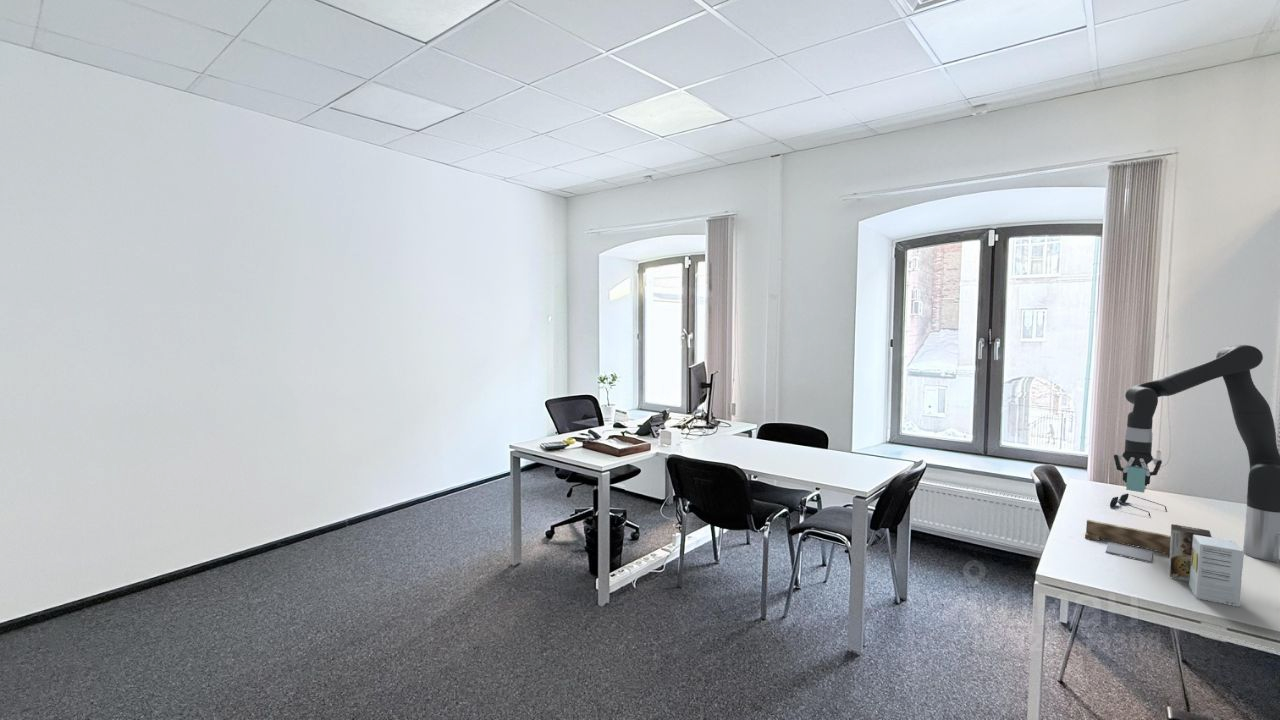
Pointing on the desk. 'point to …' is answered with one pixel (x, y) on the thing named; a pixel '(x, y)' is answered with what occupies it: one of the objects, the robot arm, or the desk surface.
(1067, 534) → the desk surface
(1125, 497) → the sunglasses
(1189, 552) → the coffee box
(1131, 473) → the teal block
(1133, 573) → the desk surface
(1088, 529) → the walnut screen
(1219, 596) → the supplement box
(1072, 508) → the desk surface
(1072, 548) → the desk surface
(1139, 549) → the grey mat
